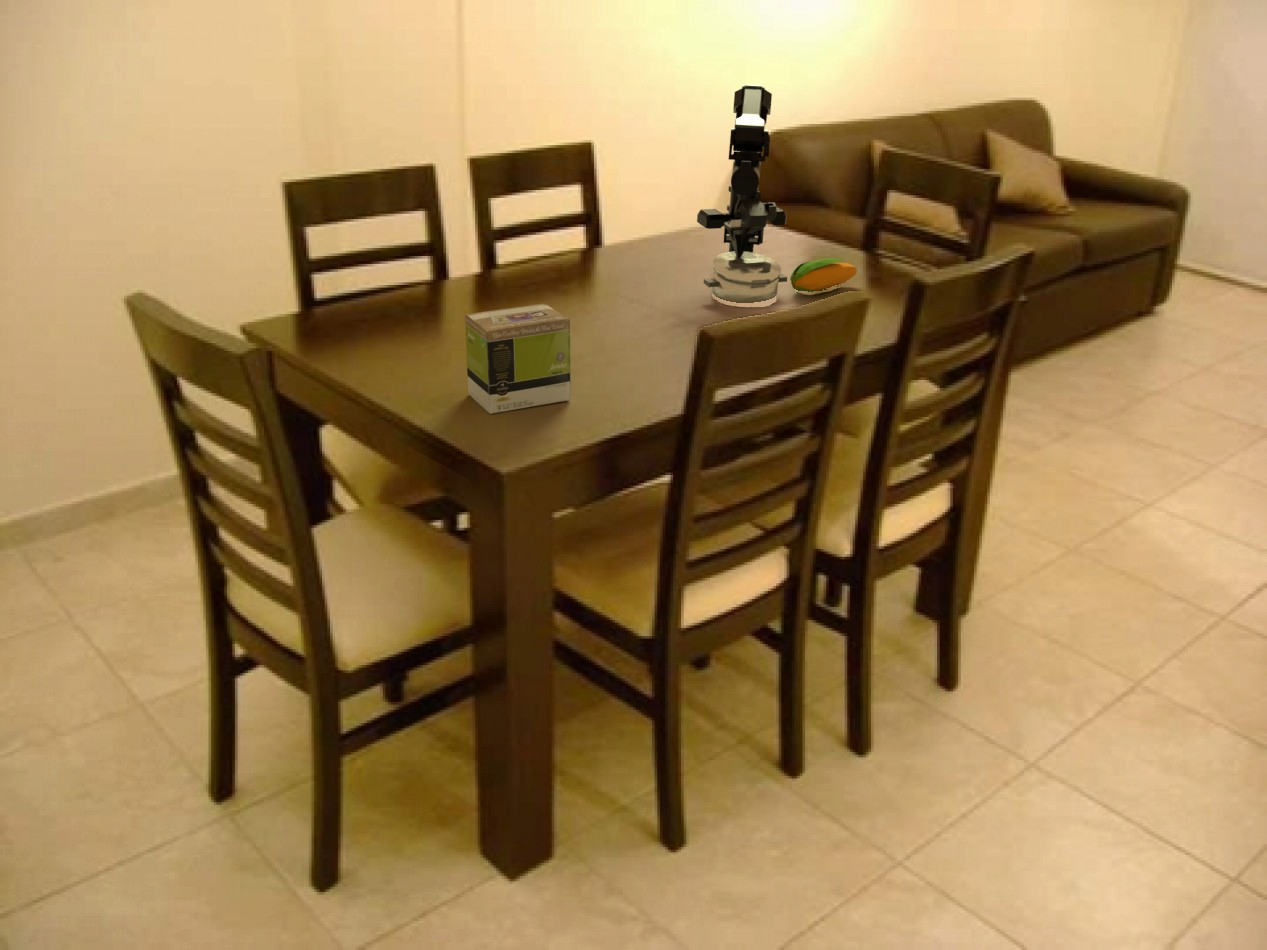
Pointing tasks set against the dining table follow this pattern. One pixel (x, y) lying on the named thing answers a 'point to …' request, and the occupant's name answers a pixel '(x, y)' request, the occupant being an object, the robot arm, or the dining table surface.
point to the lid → (747, 268)
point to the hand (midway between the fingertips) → (738, 256)
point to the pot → (742, 289)
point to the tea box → (518, 357)
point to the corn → (821, 274)
